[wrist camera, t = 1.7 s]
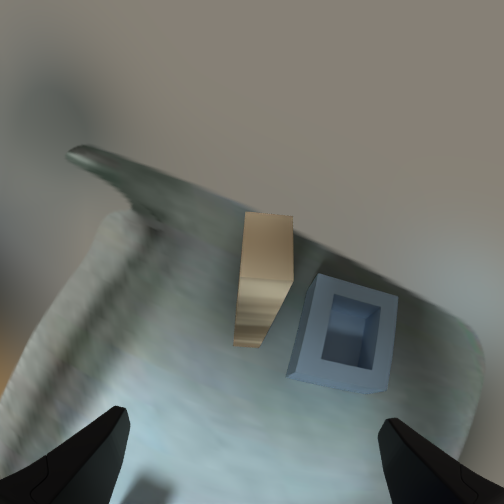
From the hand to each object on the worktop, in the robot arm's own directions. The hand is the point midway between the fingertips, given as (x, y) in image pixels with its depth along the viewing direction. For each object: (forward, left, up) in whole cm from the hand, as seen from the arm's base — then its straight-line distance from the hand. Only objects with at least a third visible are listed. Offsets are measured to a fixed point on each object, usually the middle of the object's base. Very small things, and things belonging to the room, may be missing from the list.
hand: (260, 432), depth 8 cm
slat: (+5, +5, -13) cm, 15 cm away
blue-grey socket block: (+10, 0, -13) cm, 16 cm away
